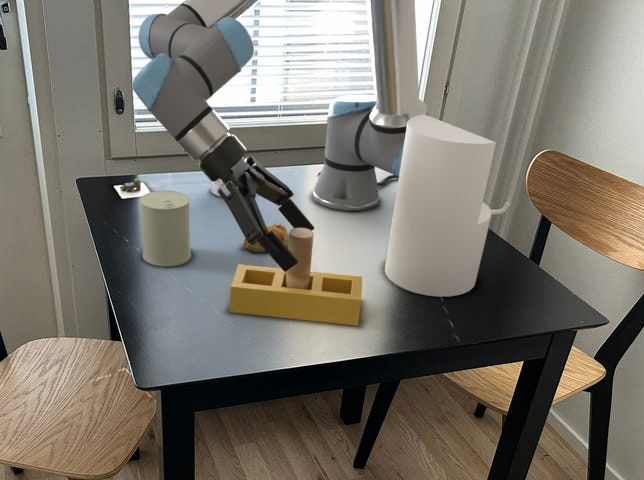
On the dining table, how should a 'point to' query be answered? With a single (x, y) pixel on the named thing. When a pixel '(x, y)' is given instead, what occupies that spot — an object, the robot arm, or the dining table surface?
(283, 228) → the pastry
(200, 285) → the dining table surface
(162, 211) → the can
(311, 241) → the peg
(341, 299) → the yellow peg holder
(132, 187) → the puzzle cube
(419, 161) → the cylinder
